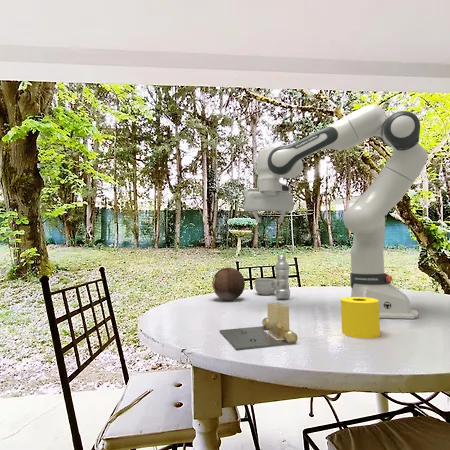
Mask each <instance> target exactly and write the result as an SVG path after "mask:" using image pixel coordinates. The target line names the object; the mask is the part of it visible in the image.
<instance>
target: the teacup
mask: <svg viewBox="0 0 450 450" xmlns="http://www.w3.org/2000/svg"><path fill="white" fill-rule="evenodd" d="M254 280H255V281H254V289H255V291H256V293H258V295H263V296H270V295H273V294H274V293H275V292H276V282H277V281H276V278H267V277H266V278H265V277H263V278H261V277H260V278H255V279H254Z"/></svg>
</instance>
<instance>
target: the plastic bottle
mask: <svg viewBox="0 0 450 450" xmlns="http://www.w3.org/2000/svg"><path fill="white" fill-rule="evenodd" d="M286 260H287V257H286V255H284V254H282V255H277V262H276V263H275V266H274V270H275V272H274V273H275V279H276V281H277V282H276V291H275V292H274V293H275V297H276V299H277V300H282V301H284V300H288V299H290V297H291V290H290V285H289V284H290V283H289V274H290V265H289V263H288V262H287V261H286Z"/></svg>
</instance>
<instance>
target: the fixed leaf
mask: <svg viewBox="0 0 450 450" xmlns="http://www.w3.org/2000/svg"><path fill="white" fill-rule="evenodd" d="M261 324H262V326H251V327H239V328H238V327H237V328H229V329H228V328H227V329H219V333H220V334H221V335H222V336H223V337H224V339H226V340H227V342H229V344H230V345H231V347H233V348H234V349H235V351H241V350H243V351H244V350H250V349H253V350H254V349H262V348H270V347H281V346H289V345H294V344H296V343H297V342H298V339H299V338H298V335H297V333H296V332H294V331H293V330H285V331H284V332H283V333H282V338H283V339H277V338H275V337H274V336H272V335H271V334H270V333H267V332H266V331H268V317H264V318H263V319H262V321H261Z"/></svg>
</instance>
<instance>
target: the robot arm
mask: <svg viewBox="0 0 450 450" xmlns="http://www.w3.org/2000/svg"><path fill="white" fill-rule="evenodd" d="M420 132H421V122H420V119H419V118H418V116H417V115H416V114H415V113H413V112H411V111H408V110H401V111H397V112H395V113H392V114H391V115H388V114H386V113H385V110H384V109H383V108H382V107H381V106H380V105H378V104H376V103H374V104H369V105H365V106H363V107H360V108H358V109H356V110H354V111H353V112H350V113H348V114H347V115H345V116H344V117H341V118H339V119H338V120H336V121H334V122H333V123H331V124H330V125H327V126H325V127H324V128H321V129H319V130H317V131H315V132H313V133H311V134H309V135H307V136H305V137H303V138H301V139H298V140H297V141H295V142H293V143H291V144H288V145H281V146H277V147H275V146H267V147H264V148H262V149H260V150H259V151H258V153H257V157H256V159H257V160H256V173H257V178H256V184H257V185H256V186H257V187H248V188H245V190H244V191H243V198H244V203H243V209H244V211H245V212H252V215H253V217H254V218H255V223H256V224H257V223H258V224H259V223H260V224H261V223H262V217H259V215H258V214H259V212H279V213H280V216H279V217H278V218H277V223H279V224H280V223H283V222H284V217H285V216H286V212H292V211H293V210H294V208H295V204H294V196H293V194H292V193H291V192H292V187H291V186H289V185H287V184H284V183H282V182H280V179H281V178H282V179H295V178H297V177H298V176H300V175H301V173H302V172H303V168H304V163H303V159H304V158H305V159H306V158H307V157H309V156H311V155H313V154H315V153H317V152H319V151H322V150H335V151H345V150H349V149H351V148H353V147H355V146H357V145H360V144H361V143H364V141H366V140H368V139H370V138H372V137H377V138H378V139H379V140H380V141H381V142H382V143H383V144H384V145H386V146H387V147H390V148H392V153H391V155H390V158H389V159H388V160H387V161H386V163H385V164H384V166H383V167H382V169H381V170H380V172H379V173H378V174H377V175H376V177H375V178H374V180H373V181H372V183H371V185H370V186H368V188H366V190H365V191H364V192H363V193H362V194H361V195H360V196H359V197H358V198H357V199H356V200H355V202H354V203H352V205H350V207H348V208H347V209H346V211H344V214H343V224H344V227H345V228H346V229H347V230H348V231H350V232H351V233H353V237H352V238H353V239H352V246H351V250H350V267H351V268H350V269H351V273H350V276H349V280H350V281H349V283H350V288H351V294H350V295H351V296H350V297H367V298H374V299H377V300H379V319H380V318H381V319H405V320H406V319H407V320H409V319H412V320H414V319H417V318H419V312H418V311H417V310H416V309H414V308H412V305H411V302H410V299H409V297H408V296H407V294H405V293H404V292H402V291H401V290H400V289H399V288H397V287H396V286H394V285H393V284H392V281H393V276H391V275H390V274H387V273H386V272H385V264H384V263H385V260H384V256H385V255H384V249H385V248H384V246H385V233H386V216H387V214H388V213H389V212H390V211H391V210H392V209H394V207H395V206H396V205H397V204H398V203H399V202H400V201H401V200H402V198H403V197H404V196H405V194H406V193H407V192H408V190H409V189H410V188H411V186H413V184H414V183H415V182H416V181H417V178H419V176H420V174H421V173H422V170H423V169H424V167H425V165H426V163H427V161H428V156H429V154H428V152H427V150H426V148H424V147H423V146H422V145H420V144H419V142H420Z"/></svg>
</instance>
